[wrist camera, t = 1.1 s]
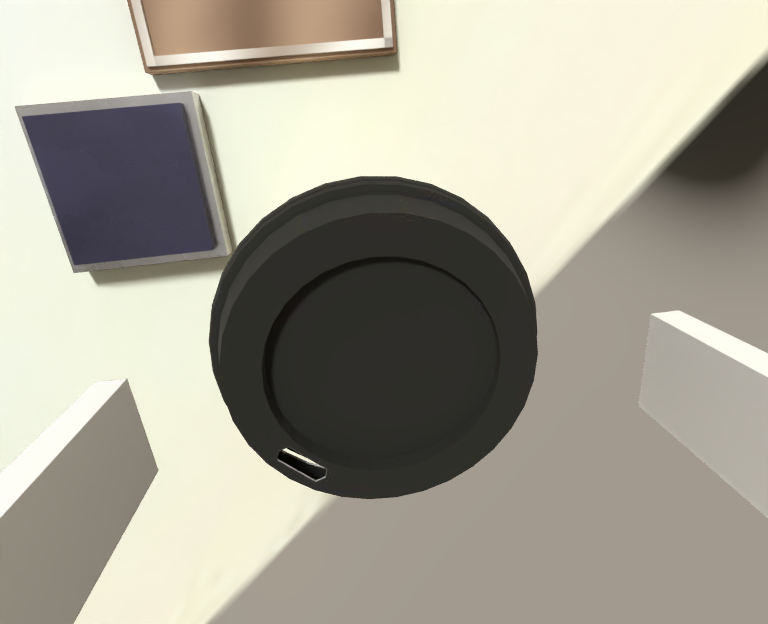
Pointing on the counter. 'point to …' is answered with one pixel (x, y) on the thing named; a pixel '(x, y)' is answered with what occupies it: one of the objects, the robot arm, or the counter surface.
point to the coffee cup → (374, 337)
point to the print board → (258, 32)
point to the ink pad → (128, 179)
